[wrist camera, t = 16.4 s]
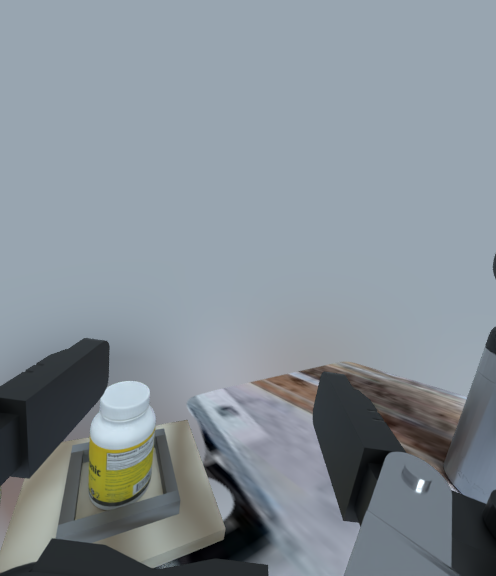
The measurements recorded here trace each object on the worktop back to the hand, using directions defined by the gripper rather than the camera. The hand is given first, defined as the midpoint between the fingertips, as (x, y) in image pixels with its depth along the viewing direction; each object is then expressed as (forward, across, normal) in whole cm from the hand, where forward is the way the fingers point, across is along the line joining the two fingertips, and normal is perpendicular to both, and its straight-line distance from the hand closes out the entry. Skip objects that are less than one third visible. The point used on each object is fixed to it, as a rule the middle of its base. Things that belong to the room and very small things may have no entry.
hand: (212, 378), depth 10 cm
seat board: (+12, +8, +21) cm, 25 cm away
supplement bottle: (+12, +8, +20) cm, 24 cm away
